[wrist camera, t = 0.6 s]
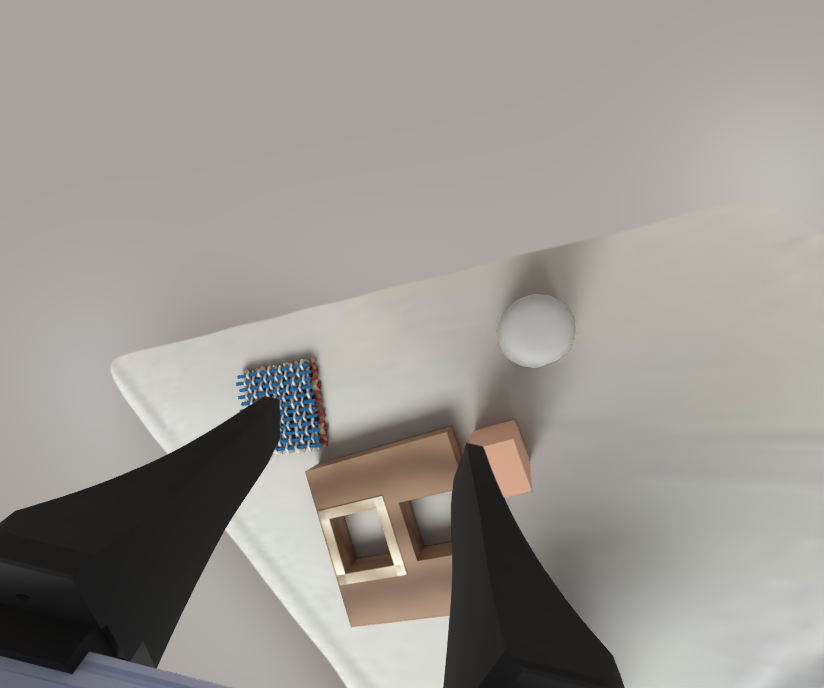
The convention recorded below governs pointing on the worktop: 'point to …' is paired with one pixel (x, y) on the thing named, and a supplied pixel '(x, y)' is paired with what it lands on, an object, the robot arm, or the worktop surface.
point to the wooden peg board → (388, 527)
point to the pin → (506, 456)
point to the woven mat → (290, 403)
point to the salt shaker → (536, 330)
